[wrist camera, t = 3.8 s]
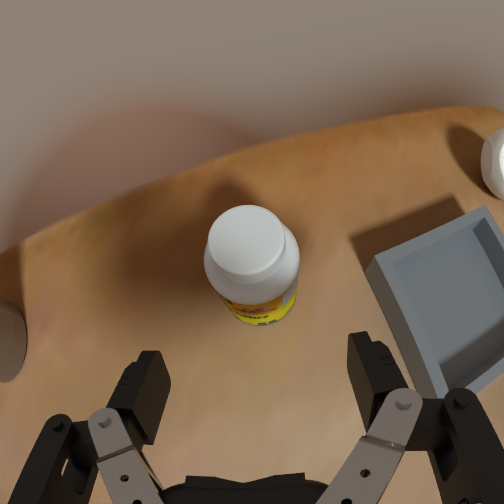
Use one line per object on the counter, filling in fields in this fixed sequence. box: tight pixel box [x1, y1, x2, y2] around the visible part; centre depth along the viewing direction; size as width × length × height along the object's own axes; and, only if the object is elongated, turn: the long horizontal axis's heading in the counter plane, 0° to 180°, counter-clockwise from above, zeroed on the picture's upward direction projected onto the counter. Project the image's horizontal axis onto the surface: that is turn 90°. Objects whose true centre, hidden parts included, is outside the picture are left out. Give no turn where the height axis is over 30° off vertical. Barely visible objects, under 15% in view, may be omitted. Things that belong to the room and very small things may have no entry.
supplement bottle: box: [204, 205, 300, 326], centre depth 20 cm, size 6×6×10 cm
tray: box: [364, 205, 504, 399], centre depth 21 cm, size 13×13×4 cm
